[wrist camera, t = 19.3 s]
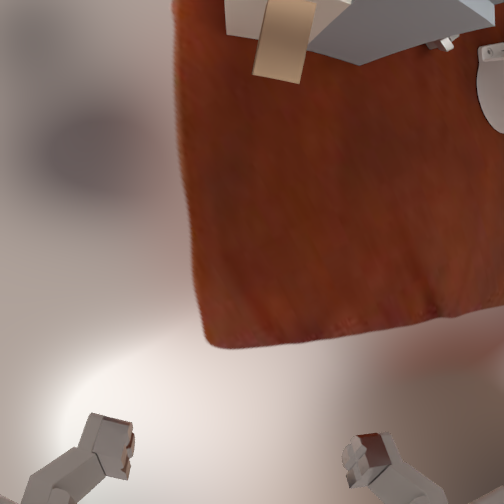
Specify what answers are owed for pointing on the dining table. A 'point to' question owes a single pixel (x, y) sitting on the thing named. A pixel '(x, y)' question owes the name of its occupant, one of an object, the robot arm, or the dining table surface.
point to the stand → (371, 24)
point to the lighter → (442, 43)
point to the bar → (284, 39)
